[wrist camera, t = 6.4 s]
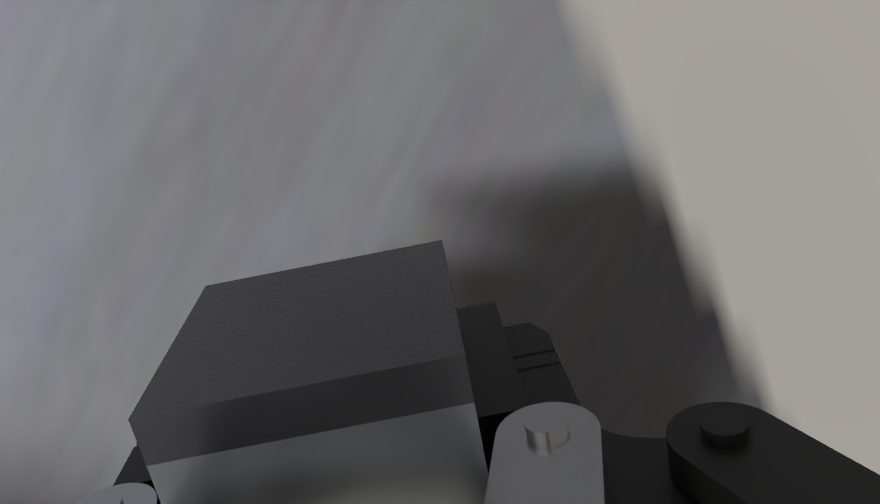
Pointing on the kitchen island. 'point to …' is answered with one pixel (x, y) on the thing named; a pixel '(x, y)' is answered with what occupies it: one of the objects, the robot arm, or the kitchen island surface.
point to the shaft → (318, 390)
